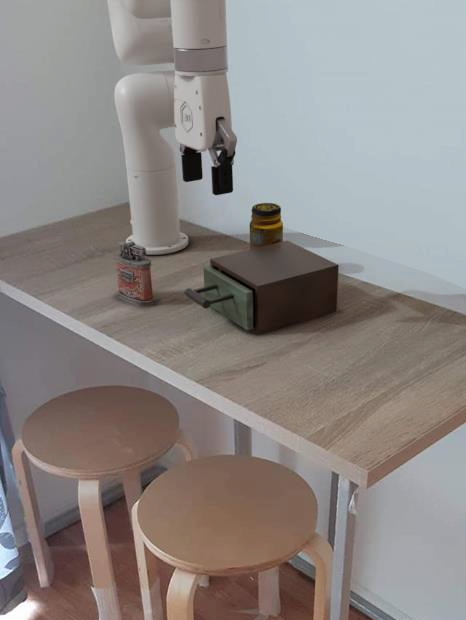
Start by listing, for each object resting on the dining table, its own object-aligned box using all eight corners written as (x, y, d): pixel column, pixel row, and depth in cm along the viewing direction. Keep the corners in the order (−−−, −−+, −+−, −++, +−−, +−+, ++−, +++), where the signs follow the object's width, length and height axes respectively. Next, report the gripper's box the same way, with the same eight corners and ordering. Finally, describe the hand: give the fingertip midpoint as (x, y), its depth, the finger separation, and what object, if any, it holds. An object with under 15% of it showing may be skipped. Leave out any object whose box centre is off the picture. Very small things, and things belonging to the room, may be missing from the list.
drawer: (216, 339, 128) (214, 301, 124) (175, 311, 137) (172, 274, 133) (321, 309, 136) (322, 272, 132) (275, 284, 145) (275, 249, 142)
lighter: (113, 296, 145) (107, 240, 139) (128, 290, 147) (122, 235, 141) (144, 308, 141) (139, 251, 135) (159, 302, 143) (154, 245, 137)
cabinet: (258, 334, 131) (257, 286, 126) (211, 304, 141) (209, 258, 136) (336, 311, 137) (338, 264, 133) (286, 284, 148) (287, 240, 143)
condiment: (292, 272, 152) (293, 207, 145) (254, 283, 148) (253, 216, 142) (269, 261, 157) (269, 198, 150) (232, 271, 154) (230, 206, 147)
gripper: (151, 58, 120) (161, 179, 130) (205, 69, 108) (212, 203, 117) (196, 53, 123) (203, 172, 133) (255, 64, 110) (257, 194, 120)
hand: (207, 186), depth 125 cm, fingers open, 9 cm apart
